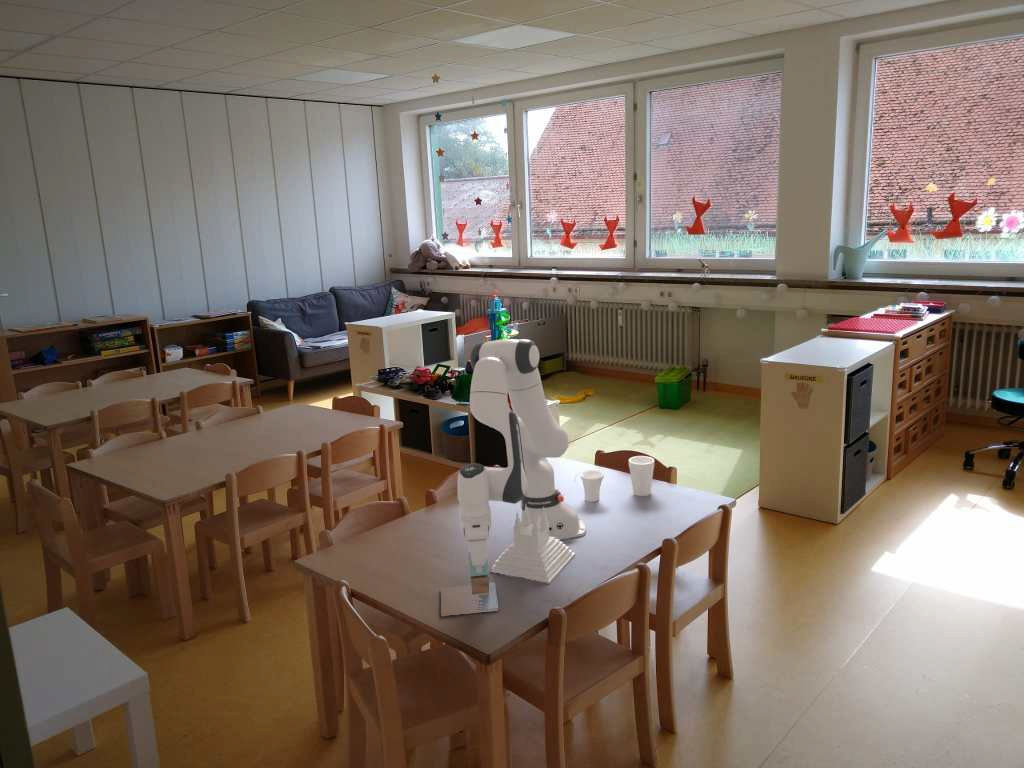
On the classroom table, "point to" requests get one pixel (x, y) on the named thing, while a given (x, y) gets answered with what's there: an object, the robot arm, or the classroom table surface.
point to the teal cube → (473, 569)
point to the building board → (489, 599)
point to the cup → (592, 484)
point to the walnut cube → (480, 584)
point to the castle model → (534, 551)
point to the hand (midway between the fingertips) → (478, 566)
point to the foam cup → (641, 474)
